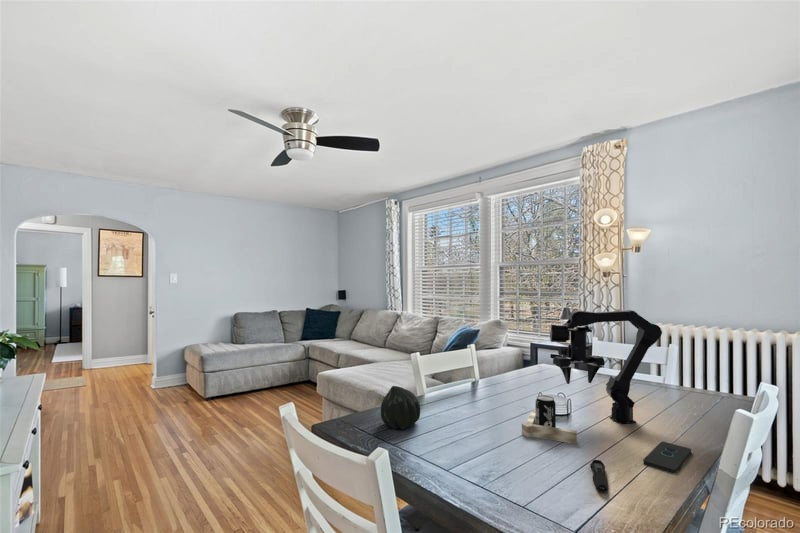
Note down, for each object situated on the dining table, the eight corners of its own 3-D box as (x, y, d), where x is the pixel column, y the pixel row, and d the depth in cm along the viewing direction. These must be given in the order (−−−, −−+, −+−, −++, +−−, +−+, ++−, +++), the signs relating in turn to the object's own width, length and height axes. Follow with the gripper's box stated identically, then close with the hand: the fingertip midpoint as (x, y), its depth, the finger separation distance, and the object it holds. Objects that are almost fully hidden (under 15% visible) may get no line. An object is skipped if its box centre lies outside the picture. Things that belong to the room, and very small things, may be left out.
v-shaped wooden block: (534, 419, 149) (534, 410, 149) (580, 443, 128) (580, 432, 128) (505, 423, 145) (505, 414, 145) (547, 449, 124) (547, 437, 124)
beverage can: (559, 433, 136) (559, 398, 137) (548, 437, 133) (547, 401, 133) (543, 427, 142) (543, 393, 142) (531, 431, 138) (531, 396, 138)
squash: (434, 411, 142) (413, 376, 149) (407, 424, 131) (385, 385, 138) (413, 430, 149) (393, 395, 156) (385, 443, 138) (365, 405, 145)
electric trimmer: (593, 495, 98) (593, 482, 98) (589, 466, 112) (589, 455, 113) (610, 498, 97) (610, 485, 97) (604, 469, 111) (604, 458, 111)
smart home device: (692, 448, 122) (675, 469, 108) (692, 454, 121) (676, 476, 108) (661, 440, 128) (641, 459, 114) (661, 445, 128) (641, 465, 114)
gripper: (587, 339, 163) (587, 377, 162) (545, 340, 160) (545, 379, 159) (605, 343, 152) (605, 384, 151) (560, 344, 149) (561, 386, 148)
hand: (578, 383), depth 153 cm, fingers open, 9 cm apart
